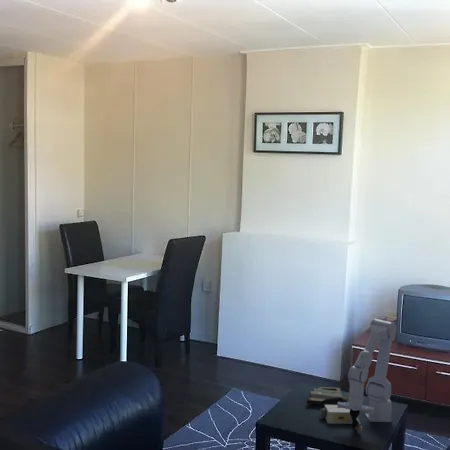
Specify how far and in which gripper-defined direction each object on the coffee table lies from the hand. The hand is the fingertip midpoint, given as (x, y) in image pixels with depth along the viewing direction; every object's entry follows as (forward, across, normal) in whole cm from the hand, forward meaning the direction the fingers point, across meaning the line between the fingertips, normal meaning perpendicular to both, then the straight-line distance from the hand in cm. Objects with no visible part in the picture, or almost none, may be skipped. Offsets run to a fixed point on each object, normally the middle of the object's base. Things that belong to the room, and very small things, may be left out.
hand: (353, 426), depth 252 cm
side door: (+1, +1, +2) cm, 3 cm away
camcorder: (+2, -15, +29) cm, 33 cm away
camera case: (+2, -7, +9) cm, 12 cm away
